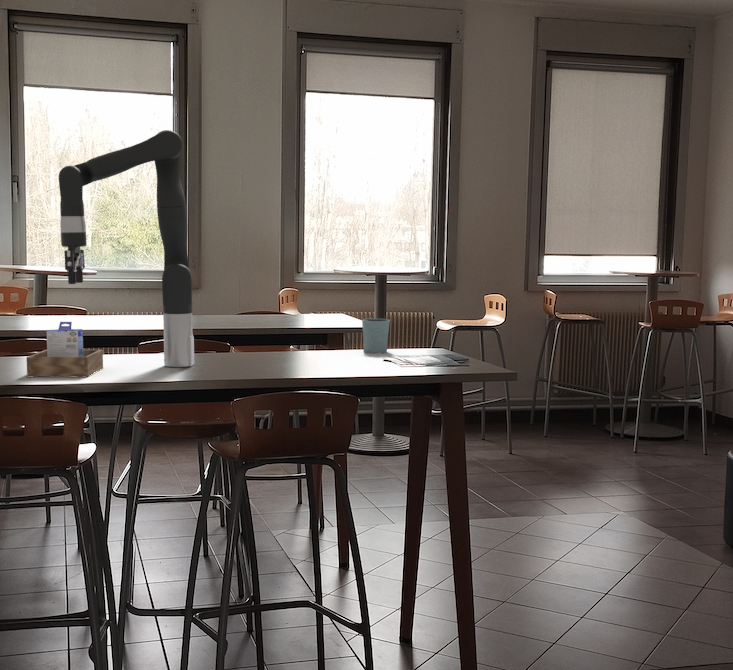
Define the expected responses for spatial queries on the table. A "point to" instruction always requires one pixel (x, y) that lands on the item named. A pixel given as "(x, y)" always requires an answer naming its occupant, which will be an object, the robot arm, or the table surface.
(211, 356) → the table surface
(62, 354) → the ink cartridge box
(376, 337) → the grey tapered piece
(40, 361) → the walled box
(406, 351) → the table surface
